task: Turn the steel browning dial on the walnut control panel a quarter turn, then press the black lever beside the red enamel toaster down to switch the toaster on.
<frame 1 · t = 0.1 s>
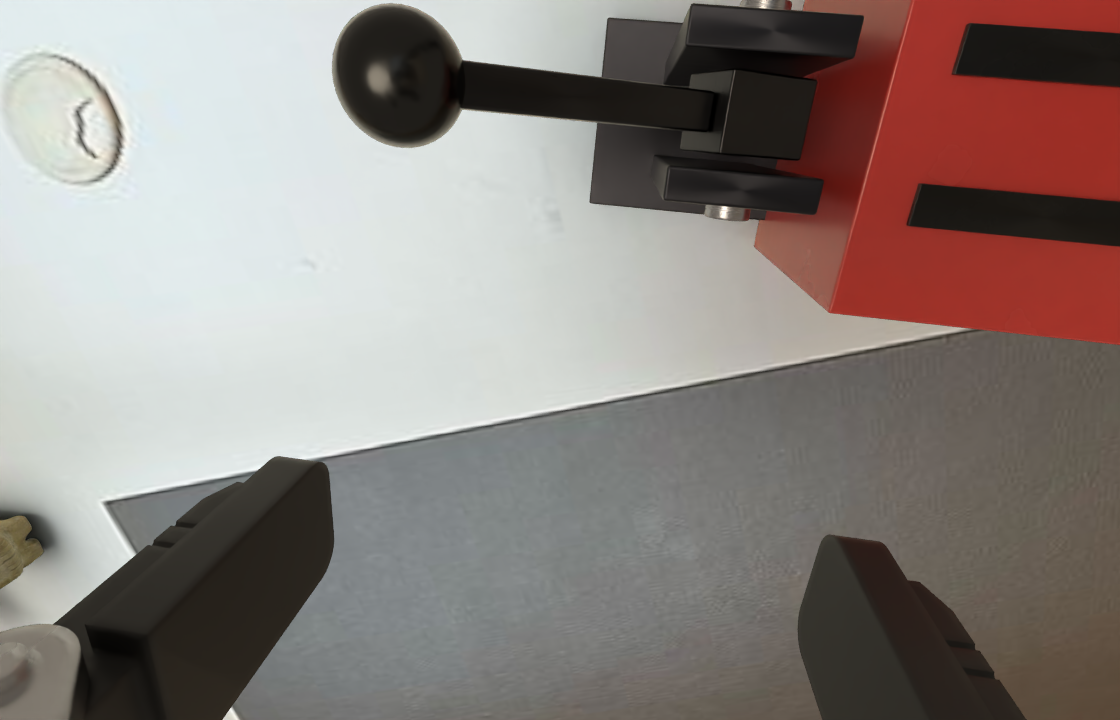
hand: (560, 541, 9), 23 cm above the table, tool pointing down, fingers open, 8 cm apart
toaster: (886, 140, 27), on the table
lever bracket: (702, 125, 27), on the table
sculpture: (12, 530, 43), on the table
toaster lever: (586, 99, 16), point 13 cm above the table, hinge at 24.0°
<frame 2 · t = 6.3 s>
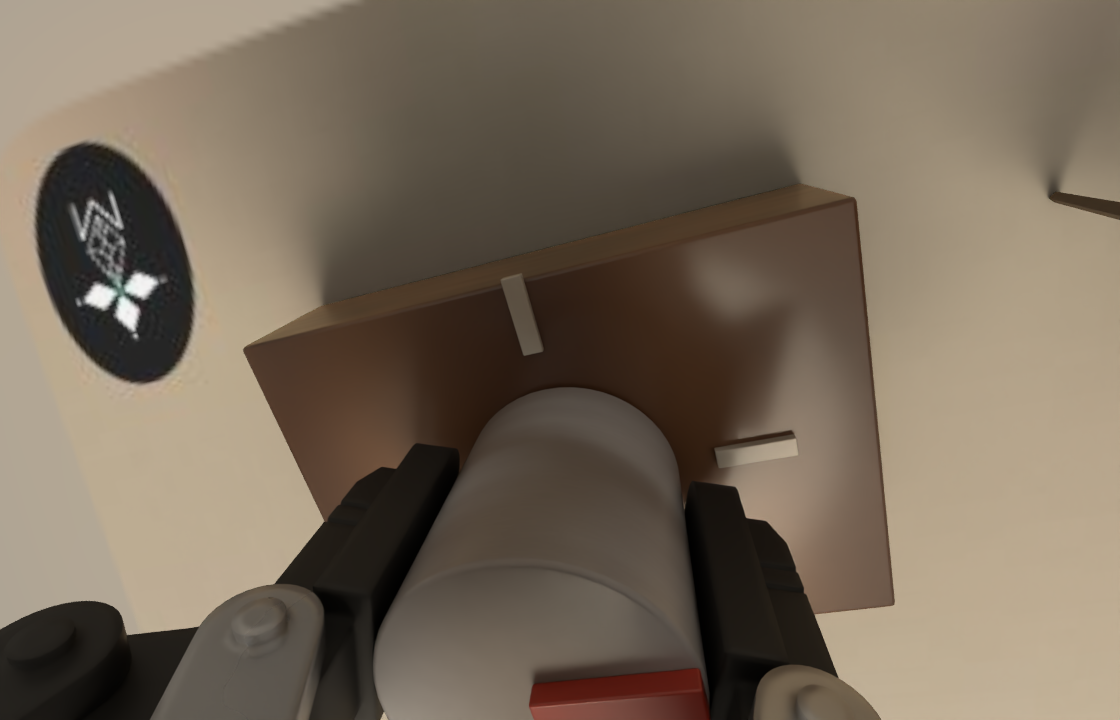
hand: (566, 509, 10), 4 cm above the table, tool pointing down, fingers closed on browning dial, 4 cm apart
dial panel: (585, 410, 14), on the table
browning dial: (557, 571, 9), point 5 cm above the table, hinge at 0.1°, touching gripper
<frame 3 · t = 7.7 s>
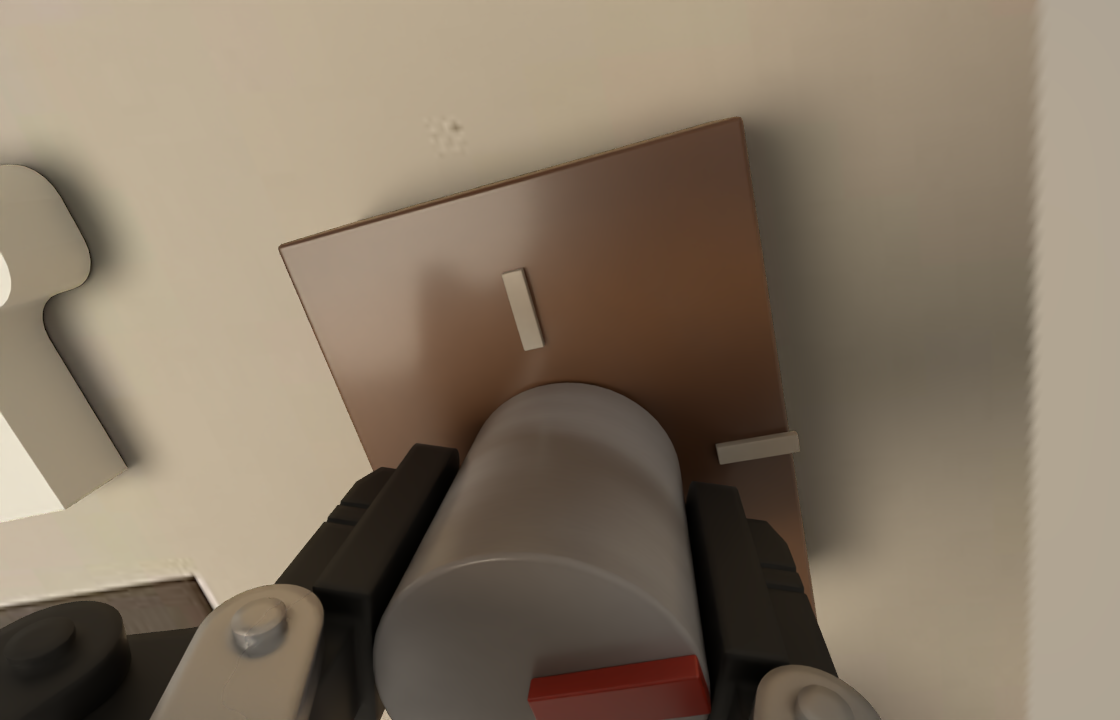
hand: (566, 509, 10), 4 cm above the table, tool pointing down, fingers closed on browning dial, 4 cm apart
dial panel: (586, 407, 14), on the table
browning dial: (557, 566, 9), point 6 cm above the table, hinge at 93.9°, touching gripper
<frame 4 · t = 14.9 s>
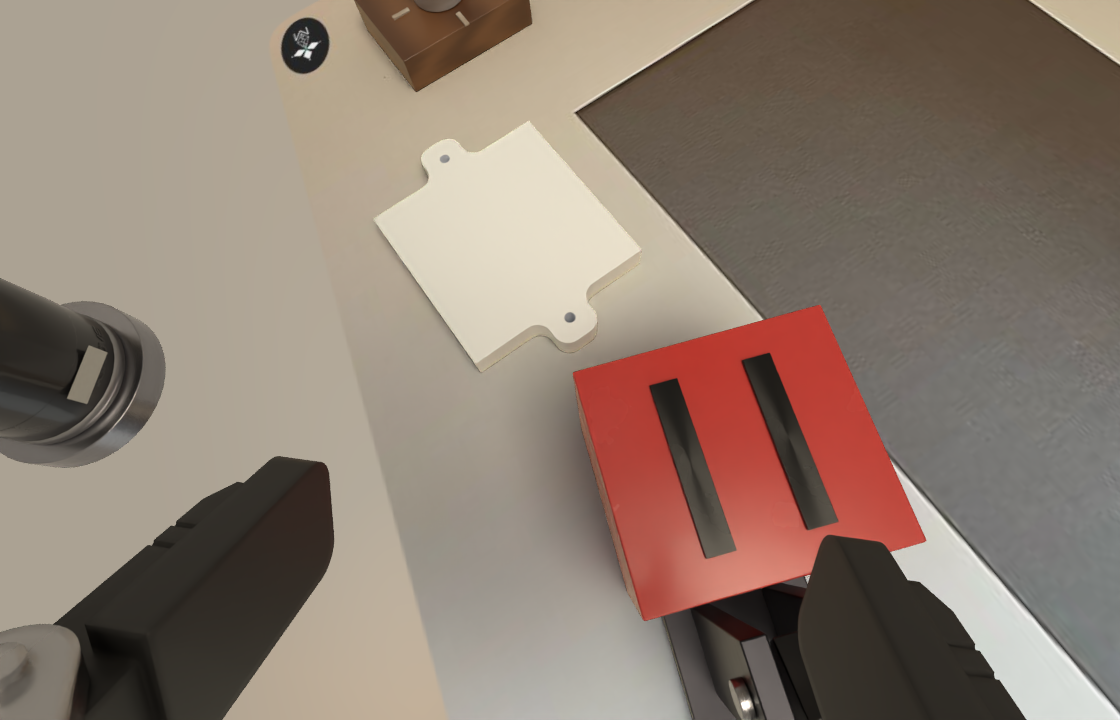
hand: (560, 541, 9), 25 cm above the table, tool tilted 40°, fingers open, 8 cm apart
toaster: (692, 482, 34), on the table
mounting plate: (508, 249, 40), on the table
dial panel: (449, 27, 46), on the table
lever bracket: (742, 633, 31), on the table
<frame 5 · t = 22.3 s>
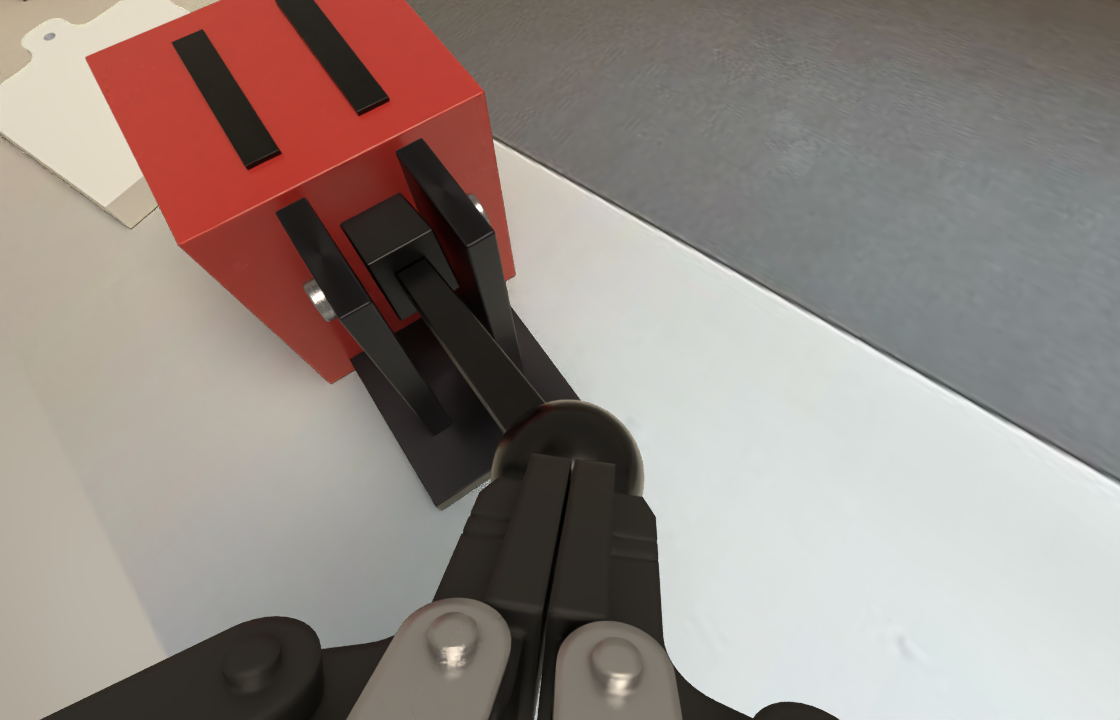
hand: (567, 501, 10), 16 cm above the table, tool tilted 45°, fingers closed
toaster: (382, 260, 31), on the table
mounting plate: (149, 112, 36), on the table
lever bracket: (461, 379, 28), on the table
toaster lever: (468, 345, 15), point 13 cm above the table, hinge at 19.8°, touching gripper
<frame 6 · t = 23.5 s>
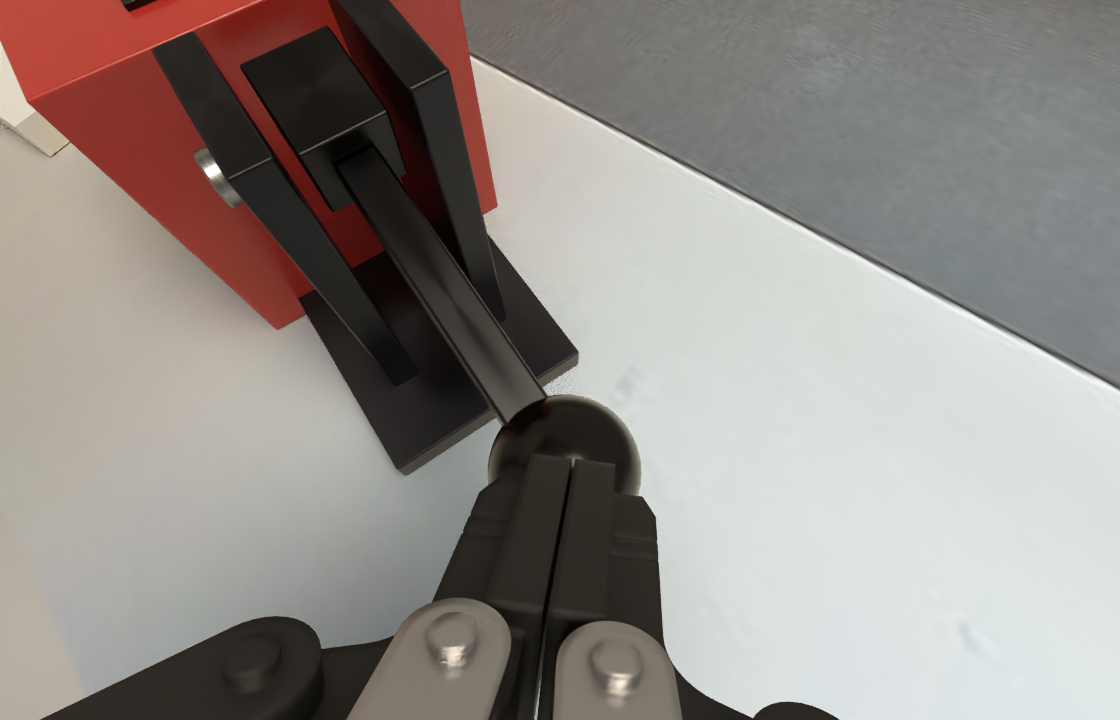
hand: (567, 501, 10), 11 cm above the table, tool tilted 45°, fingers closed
toaster: (342, 190, 27), on the table
mounting plate: (79, 31, 31), on the table
lever bracket: (432, 324, 24), on the table
toaster lever: (441, 288, 13), point 10 cm above the table, hinge at -8.7°, touching gripper
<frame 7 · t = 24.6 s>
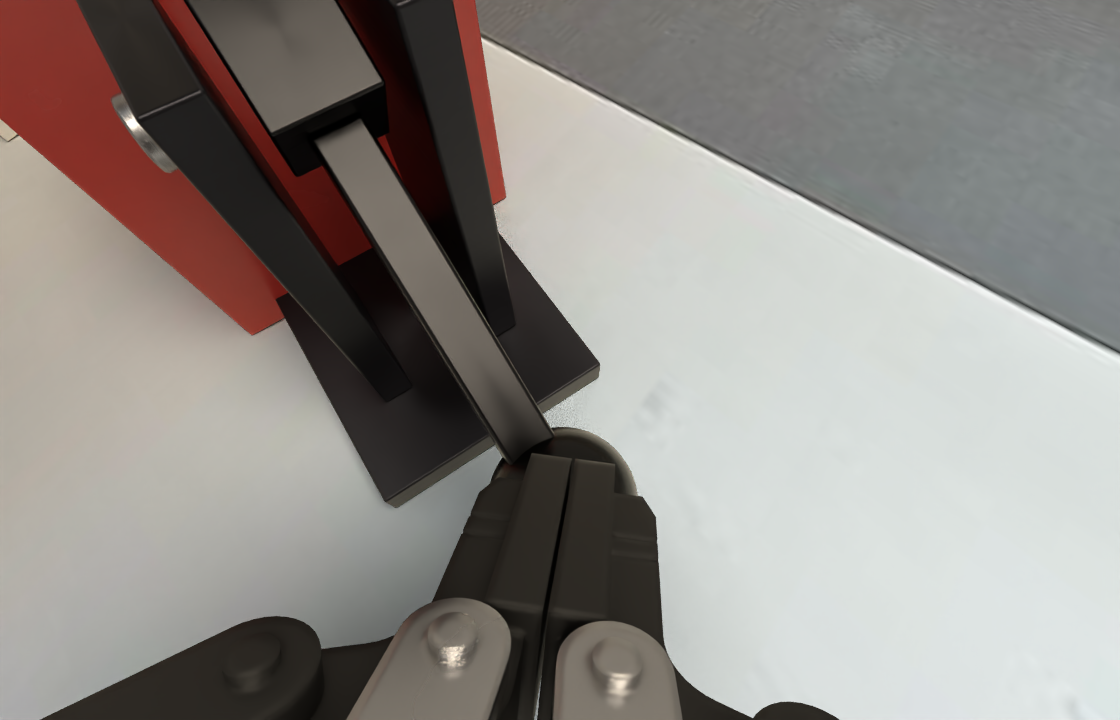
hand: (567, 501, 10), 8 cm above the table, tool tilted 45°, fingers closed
toaster: (331, 179, 24), on the table
lever bracket: (430, 330, 21), on the table
toaster lever: (440, 302, 11), point 9 cm above the table, hinge at -28.9°, touching gripper
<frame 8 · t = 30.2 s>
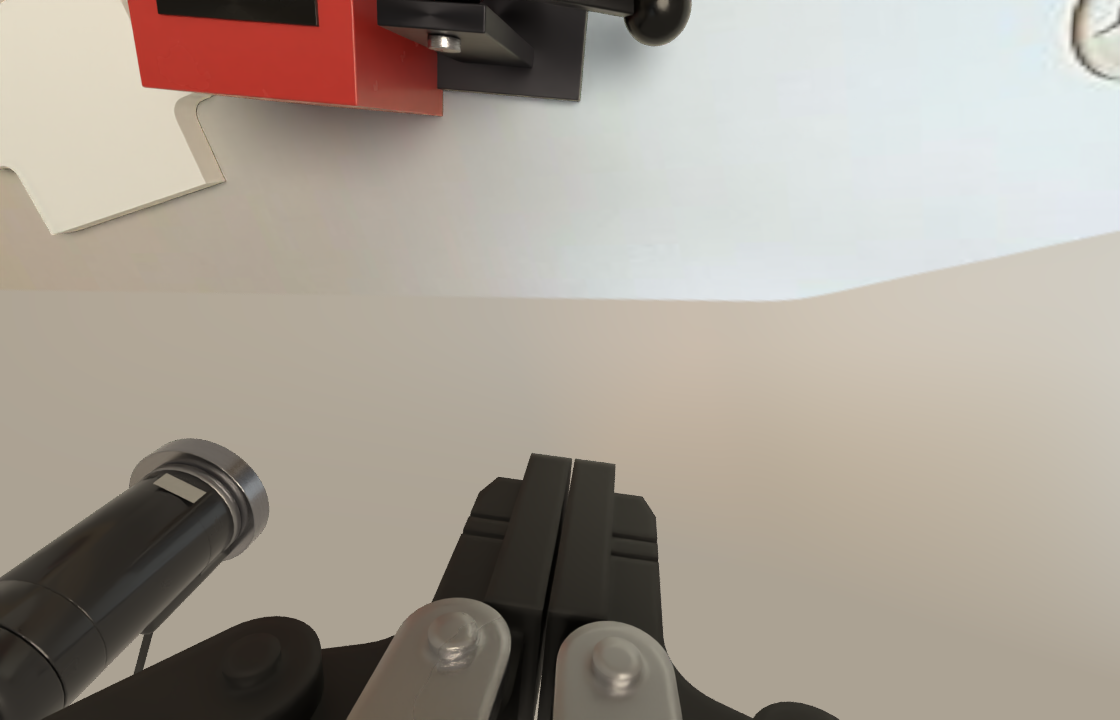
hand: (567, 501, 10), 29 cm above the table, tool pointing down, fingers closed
toaster: (362, 9, 34), on the table
mounting plate: (102, 110, 38), on the table
lever bracket: (502, 19, 33), on the table
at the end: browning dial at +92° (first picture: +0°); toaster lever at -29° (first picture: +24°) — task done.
